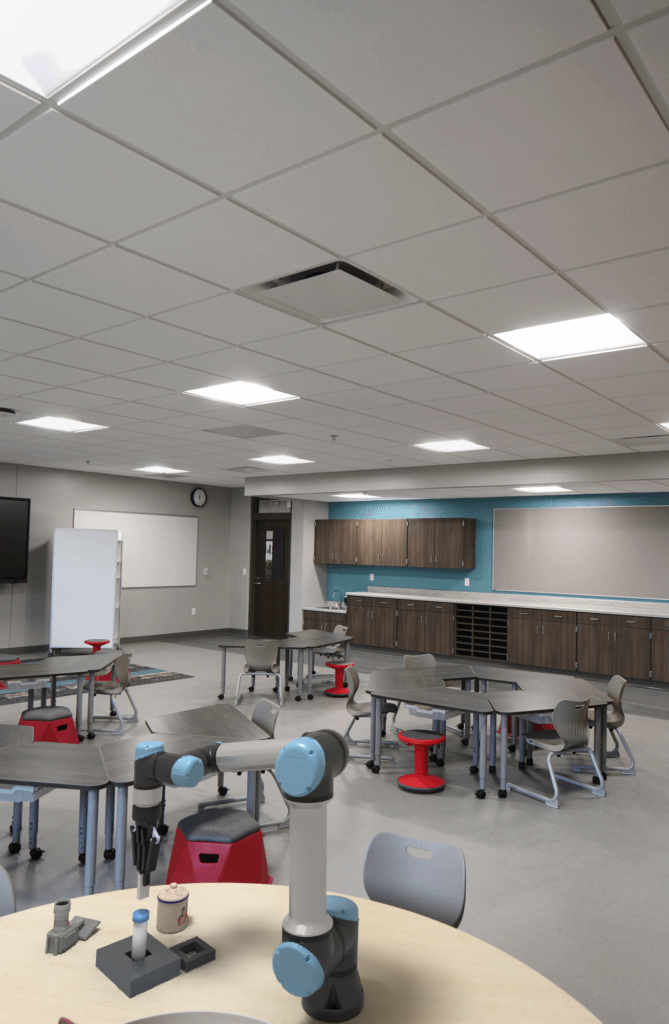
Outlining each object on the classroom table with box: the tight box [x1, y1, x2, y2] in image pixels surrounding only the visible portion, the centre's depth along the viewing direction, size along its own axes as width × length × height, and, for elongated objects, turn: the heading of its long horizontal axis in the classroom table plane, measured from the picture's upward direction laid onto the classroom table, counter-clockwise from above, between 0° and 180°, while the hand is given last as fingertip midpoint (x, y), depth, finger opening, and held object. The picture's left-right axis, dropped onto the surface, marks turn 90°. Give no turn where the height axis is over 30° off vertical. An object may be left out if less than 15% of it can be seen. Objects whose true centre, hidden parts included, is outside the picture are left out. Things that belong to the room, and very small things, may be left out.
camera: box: [45, 898, 102, 956], centre depth 181 cm, size 9×12×15 cm
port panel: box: [94, 931, 182, 999], centre depth 167 cm, size 18×14×4 cm
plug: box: [131, 908, 150, 962], centre depth 168 cm, size 4×4×14 cm
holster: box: [168, 935, 217, 974], centre depth 173 cm, size 9×9×2 cm
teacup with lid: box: [155, 882, 190, 934], centre depth 191 cm, size 12×9×12 cm
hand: (142, 897), depth 169 cm, fingers closed
